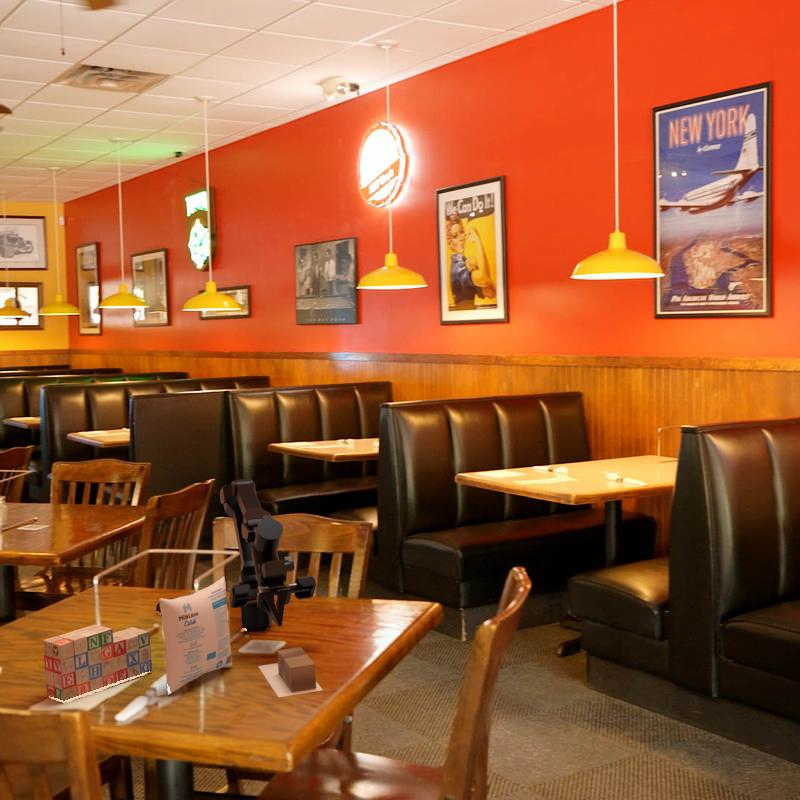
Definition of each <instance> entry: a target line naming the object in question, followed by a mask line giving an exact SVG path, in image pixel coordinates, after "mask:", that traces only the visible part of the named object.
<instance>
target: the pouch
mask: <svg viewBox="0 0 800 800" xmlns="http://www.w3.org/2000/svg"><path fill="white" fill-rule="evenodd" d="M193 593H194V594H191V593H190V594H191V595H188V596H183V595H182V596H183V597H180V596H178V597H179V598H176V597H175V598H176V599H170V598H164V597H163V598H162V597H161V598H159V602H160V609H161V615H162V616H161V622H162V623H161V625H162V630H163V637H164V649H165V651H164V652H165V673H166V674H165V676H166V677H165V678H166V680H165V681H166V685H167V684H168V686H169V687H170V691H171V692H174V693H175V692H177V691H178V690H179V689H181V688H182V687H183V686H184V685H186V684H188V683H191V682H192V681H194V680H196V679H198V678H199V677H201V676H202V675H204V674H206V673H210V672H214V671H216V670H219V669H222V668H226V669H228V668H232V667H233V658H232V649H231V648H232V647H231V639H230V632H229V623H228V622H229V621H228V604H227V603H228V599H227V584H226V577H225V576H222V577H221V578H218V580H217V581H215V582H214V583H212V584H211V585H209V586H207V587H204V588H202V589H200V590H198V591H196V593H195V592H193Z"/></svg>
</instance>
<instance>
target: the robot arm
mask: <svg viewBox="0 0 800 800" xmlns="http://www.w3.org/2000/svg"><path fill="white" fill-rule="evenodd" d="M219 499H220V503H221V504H222V505H223V508H224V513H225V514H227V516H229V517H230V518H231V519H232V521H233V525H234V532H235V537H236V542H237V543H236V544H237V547H238V552H239V557H240V562H241V571H240V574H239V577H238V581H237V584H234V585H233V584H232V587H231V588H230V594H229V604H230V608H231V609H240V615H241V617H240V618H241V628H240V629H239V631H240V630H241V629H242V628H246V629H247V632H246V633H265V632H267V631H268V630H269V628H271V627H272V625H273V623H275V625H276V627H278V628H279V627H282V626H283V620H284V614H285V613H284V611H285V606H286V605H288V604H290V602H291V597H292V594H294V598H296V599H297V600H307V599H311V598H313V597H314V595H315V591H316V587H317V582H316V579H315V577H313V576H312V575H305V576H297V577H296V579H295V582H294V583H291V584H290V583H289V584H285V583H286V582H287V575H288V573H291V572H293V571H294V570H295V563H294V562H295V561H294V558H293V556H292V555H289V556H284V557H283V558H282V559H280V558H279V553H278V550H279V548H280V545H281V541H282V536H283V532H284V526H283V525H282V524H281V522H280V521H279V520H276V519H274V518H273V516H272V515H271V513H270V512H269V511H267V510H265V509H263V508H262V505H261V503H260V500H259V498H258V496H257V491H256V483H254V480H253V479H250V478H245V479H235V480H234V481H231V483H228V484H225V485H223V486H222V487H221V489H220V491H219ZM275 596H276V602H275Z"/></svg>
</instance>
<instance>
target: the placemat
mask: <svg viewBox="0 0 800 800" xmlns="http://www.w3.org/2000/svg"><path fill="white" fill-rule="evenodd" d="M257 667H258V669H259V670H260V672H261V673H262V675H263V676H264V678H265V679H266V681H267V682H268V685H269V686H270V687H271V689H272V690H273V692H274V693H275V694H276V696H277V697H278V698H283V697H290V696H296V695H302V694H309V693H313V692H321V691H323V688H322V686H320V684H319V683H318V682H317V681H316V689H310V690H304V691H298V692H291V691H290V689H289V688H288V686H287V685H286V683H285V682H284V681H283V679H282V678H281V676H280V675H279V672H278V662H276V663H270V664H264V665H258V666H257Z"/></svg>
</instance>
